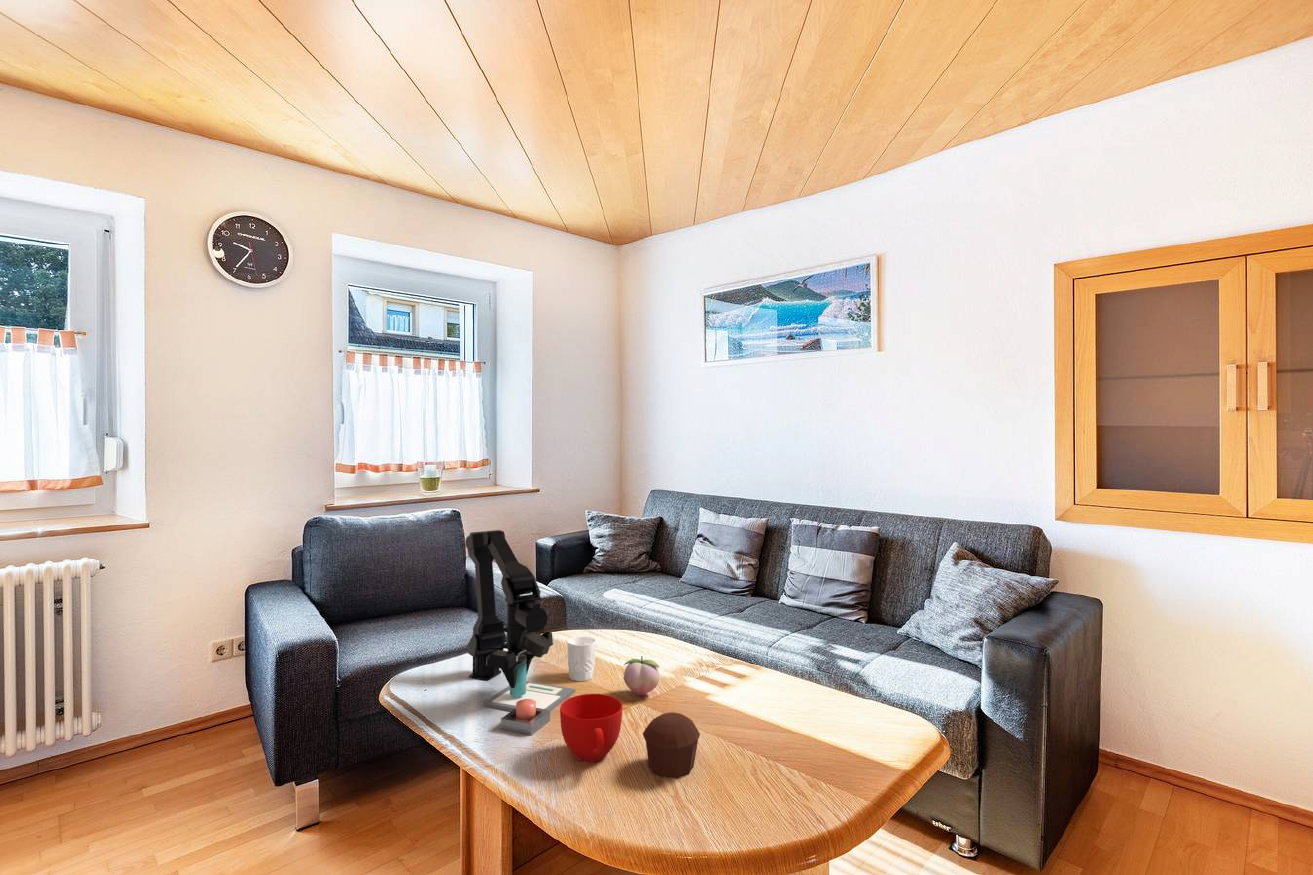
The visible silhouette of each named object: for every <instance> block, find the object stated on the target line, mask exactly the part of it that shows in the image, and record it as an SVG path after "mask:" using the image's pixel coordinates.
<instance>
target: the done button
mask: <svg viewBox="0 0 1313 875" xmlns="http://www.w3.org/2000/svg"><path fill="white" fill-rule="evenodd" d="M535 717H536V701H535V700H532V699H523V700H520V701H518V702H517V703H516V719H521V720H526V721H531V720H532V719H533V718H535Z"/></svg>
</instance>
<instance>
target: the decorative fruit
mask: <svg viewBox="0 0 1313 875" xmlns="http://www.w3.org/2000/svg"><path fill="white" fill-rule="evenodd" d="M623 665H624V666H625V669H624V673H623V681H624V684H625V685H626V687H628V688H629V689H630V690H631V691H632V692H633V693H635V694H637V695H639V696H645V695H646V694H648V693H650V692H652V691H653V690H654V689H655V688H657V686H658V684H659V682H660V672H659V669H658V668H660V666H659V664H658V663H657V662H656V661H654V660H652V659H646V658H645V659H644V658H643V656H642V655H641V656H640V658H639V659H638V658H631V659H629V660H627V661H626V662H625V663H624V664H623Z"/></svg>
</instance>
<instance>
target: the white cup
mask: <svg viewBox="0 0 1313 875" xmlns="http://www.w3.org/2000/svg"><path fill="white" fill-rule="evenodd" d="M566 646H567V648H566V649H567V666H568V678H569V679H570V680H572V681H575V682H586V681H589V680H592V679H594V673H595V665H596V664H595V663H596V650H597V649H596V647H597V639H596V638H594V637H591V636H584V635H583V636H574V637H571V638H569V639H567V641H566Z"/></svg>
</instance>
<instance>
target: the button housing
mask: <svg viewBox="0 0 1313 875" xmlns="http://www.w3.org/2000/svg"><path fill="white" fill-rule="evenodd" d="M550 721H551V711H550V710H546V709H541V708H536V717H535V718H533V719H532V720H531V721H526V720H521V719H516V708H515V709H514V710H512V711H509V712H508V713H506V714H505V715H504V716H502V717H501V718H500V730H502V731H508V732H513V733H518V734H523V735H528V736H533V735H534V734H535V733H537V732H538V731H539V730H541V728H543V727H544V726H545V725H546V724H548V723H549V722H550Z"/></svg>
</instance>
